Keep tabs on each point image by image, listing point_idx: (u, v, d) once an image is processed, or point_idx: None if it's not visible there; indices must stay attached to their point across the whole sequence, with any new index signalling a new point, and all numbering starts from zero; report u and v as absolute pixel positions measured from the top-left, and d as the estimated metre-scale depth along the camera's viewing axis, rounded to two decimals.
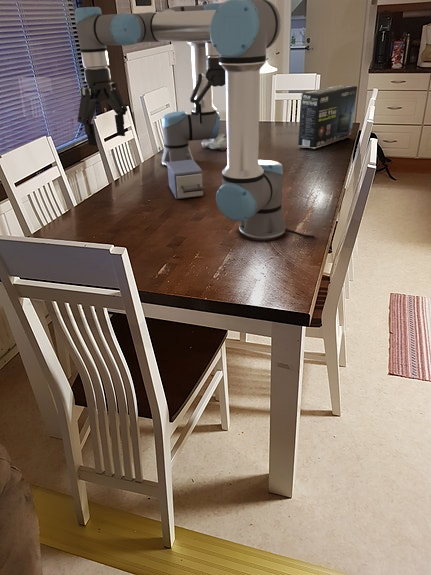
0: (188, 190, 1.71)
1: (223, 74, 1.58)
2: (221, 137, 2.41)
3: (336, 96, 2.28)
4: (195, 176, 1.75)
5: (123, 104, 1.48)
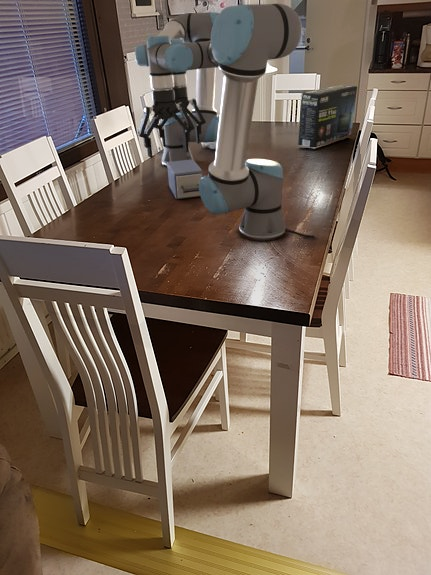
0: (188, 190, 1.71)
1: None
2: None
3: (336, 96, 2.28)
4: (195, 176, 1.75)
5: (190, 123, 1.59)
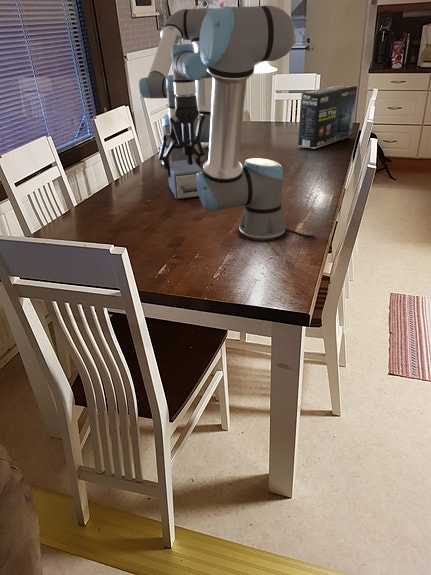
0: (188, 190, 1.71)
1: None
2: None
3: (336, 96, 2.28)
4: (195, 176, 1.75)
5: (198, 136, 1.63)
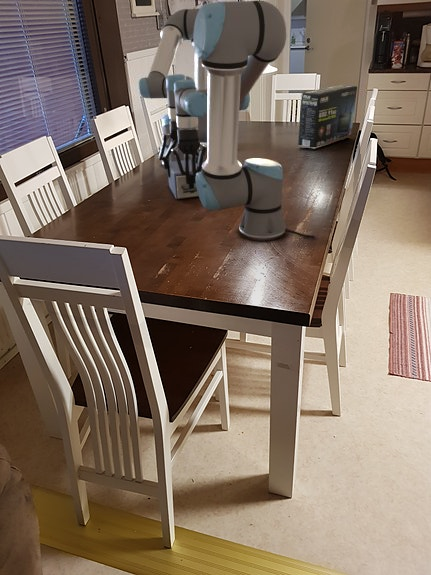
0: (188, 190, 1.71)
1: None
2: None
3: (336, 96, 2.28)
4: None
5: (200, 166, 1.69)
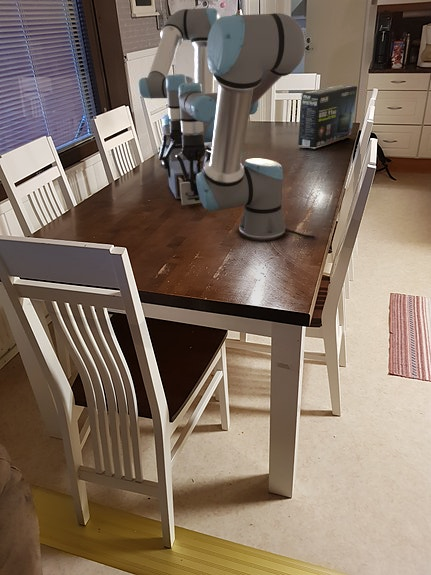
0: (193, 197, 1.64)
1: None
2: None
3: (336, 96, 2.28)
4: None
5: None
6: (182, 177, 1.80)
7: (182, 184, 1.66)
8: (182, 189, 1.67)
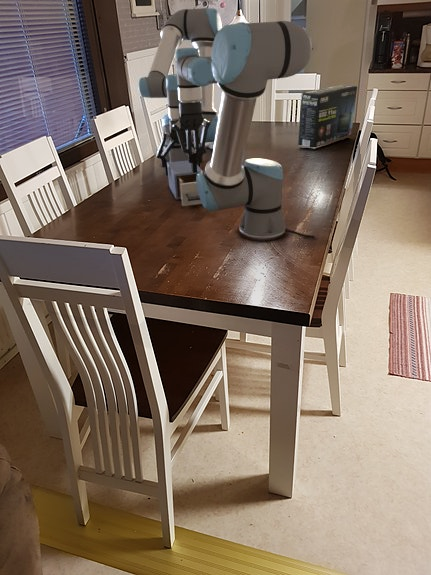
0: (193, 198, 1.63)
1: None
2: None
3: (336, 96, 2.28)
4: None
5: (203, 143, 1.57)
6: (182, 178, 1.80)
7: (182, 185, 1.66)
8: (182, 190, 1.67)
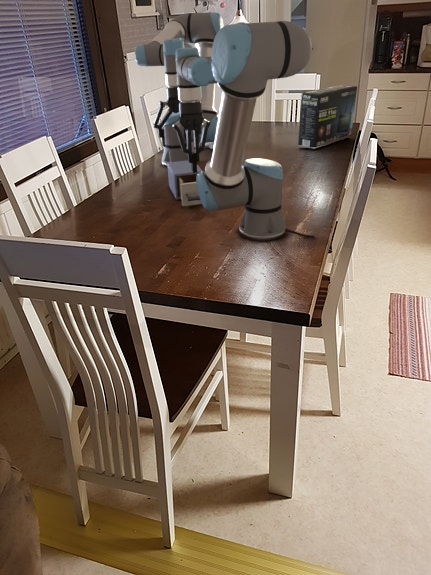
0: (193, 198, 1.63)
1: None
2: None
3: (336, 96, 2.28)
4: None
5: (203, 143, 1.57)
6: (182, 178, 1.80)
7: (182, 185, 1.66)
8: (182, 190, 1.67)
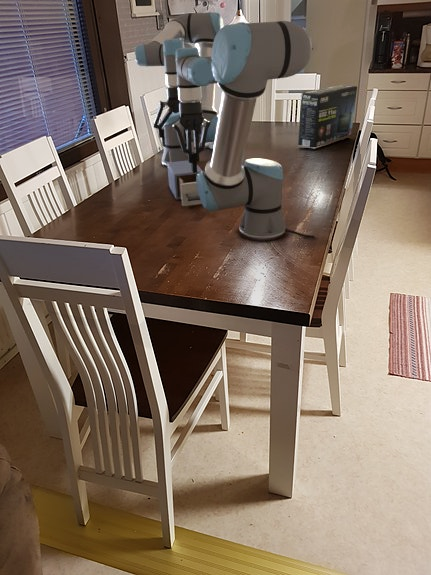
0: (193, 198, 1.63)
1: None
2: None
3: (336, 96, 2.28)
4: None
5: (203, 143, 1.57)
6: (182, 178, 1.80)
7: (182, 185, 1.66)
8: (182, 190, 1.67)
